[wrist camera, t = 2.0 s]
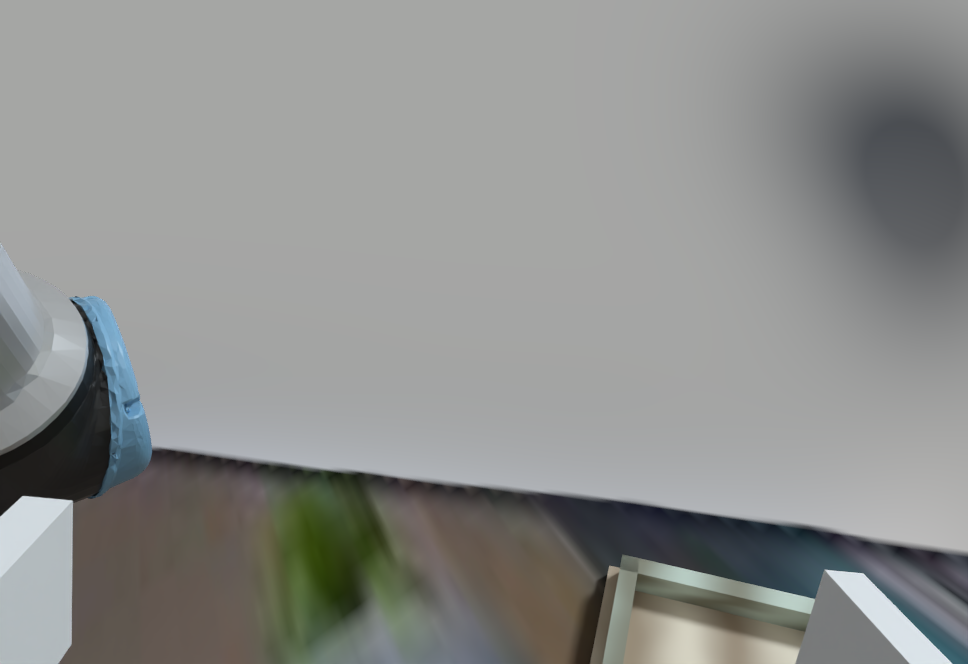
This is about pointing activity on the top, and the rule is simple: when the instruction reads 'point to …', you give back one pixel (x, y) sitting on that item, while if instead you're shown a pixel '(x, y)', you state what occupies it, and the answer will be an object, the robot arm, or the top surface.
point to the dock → (694, 618)
